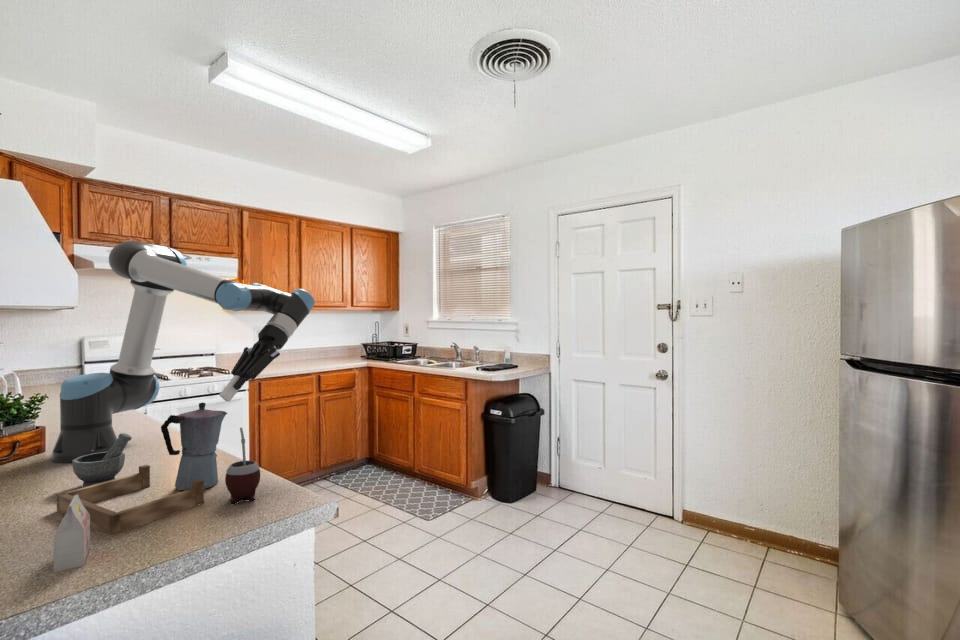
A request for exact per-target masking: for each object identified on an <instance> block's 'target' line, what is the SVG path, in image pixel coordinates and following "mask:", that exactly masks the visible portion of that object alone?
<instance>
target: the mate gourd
mask: <svg viewBox="0 0 960 640" xmlns="http://www.w3.org/2000/svg"><path fill="white" fill-rule="evenodd" d="M243 429H244V428H243V427H240V428H239V431H240V437H241V439H240V441H241V442H240V443H241V449H242V452H241V453H242V460H240V461H236V462H232V463H231V464H230V465H229V466H228V468H227V469H226V472H225V479H224V481H225V486H226V489H227V491H228V492H229V494H230V499H231V498H232V499H231V502H230V505H231V504H234V505H236V504H238V503H240V502H239V501H241V500H243V501H244V500H249V501H248V502H251V501H253V502H255V501H256V498H255V493H256V490H257V488H258V487H259V484H260V480H261V469H260V466H259V464H258V463H257V462H256V461H255V460H247V459H246V439H245V435H244V430H243ZM254 500H255V501H254ZM237 502H238V503H237ZM241 502H242V501H241ZM235 503H236V504H235Z"/></svg>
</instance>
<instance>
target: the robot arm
mask: <svg viewBox="0 0 960 640" xmlns="http://www.w3.org/2000/svg"><path fill="white" fill-rule="evenodd" d="M108 263H109V264H108V265H109V267H110V269H111V270H112V271H113V272H114V273H115V274H116V275H118V276H119V277H121V278H123V279H125V280H126V279H127V280H130V282H129V283H130V285H131V286H132V287H133V288H134V292H133V297H132V300H131V305H130V309H129V314H128V317H127V323H126V327H125V330H124V336H123V339H122V343H121V344H122V345H121V348H120V353H119V356H118V362H116V363H115V364H113V365H111V366H110V369H109V372H92V373H88V374H87V373H84V374H79V375H76V376H75V375H74V376H71V377H69V378H66V379H64V380H63V381H62V382H61V385H60V393H59V404H60V405H59V407H60V408H59V409H60V412H59V413H60V419H59V420H60V421H59V422H60V424H59V425H60V427H59V428H60V431H59V434H58V437H57V439H56V442H55V443H54V444H55V445H54V447H53V449H52V452H51V461H52V460H53V462H54V461H55V463H61V464H62V463H65V464H66V463H72V460H74V459H76V458H78V457H80V456H84V455H88V454H93V453H100V452H108V451H109V450H110V448H111V447H112V446H113V444H114V443H115V442H116V440H117V439H118V437H117V435H116V433H115V430H114V428H113V415H114V414H119V413H122V412H123V413H124V412H128V411H134V410H135V411H136V410H138V409H140V408H144V407H147V406H149V405H150V404H151V403H153V402H154V400H156V398H157V397H158V395H159V393H160V382H159V381H158V380H159V379H158V377H157V376H156V375H155V372H156V371H155V369H154V368H153V367H152V366H151V365H152V361H153V357H154V352H155V349H156V343H157V340H158V335H159V331H160V328H161V327H160V326H161V324H162V318H163V313H164V309H165V305H166V301H167V298H168V295H170V294H171V293H173V292H174V291H178V292H181V293H183V294H186V295H190V296H193V297H195V298H200V299H203V300H204V301H205V300H206V301H208V302H211V303H215V304H218V305H219V306H220V308H222V309H224V310H225V311H227V310H228V311H231V312H232V311H233V312H239V311H240V312H246V311H247V312H250V311H251V312H264V313H265V312H266V313H268V314H272V315H273V316H272V317H271V318H270V319H269V320H268V321H267V322H266V325H264V326H263V327H262V328H261V330H260V331H259V332H258V334H257V336H258V341H257V342H255V343H253V346H252V347H250V348H249V347H248V346H246V347H244V348H243V351H242V354H241V355H240V357H239V358H238V360H237V362H236V363H235V365H234V367H233V369H232V370H231V371H230V374H231V375H232V376H233V377H232V378H231V380H230V381H229V382H228V383H227V385H226V386H225V387H224V388H223V390H221V392H220V393H219V397H221V398H222V399H223V400H224V401H225V402H229V403H230V402H231V401H232V399H233V398H234V397H235V396H236V394H237V393H238V392H239V390H240V389H241V388H242V387H243V386H244V384H245V383H246V382H248V381H250V380H252V381H254V380H255V379H256V378H257V377H258V376H259V375H261V373H262V372H263V371H264V370H265V369H266V368H267V367H268V366H269V365H270V364H271V362H273V361H274V360H275V359H277V358H278V357H279V356H280V355H281V353H280V352H279V351H278V350H281V349H283V348H284V346H285V345H286V343H287V342H288V341H289V339H290V338H291V337H292V336H293V335H294V333H295V332H296V330H297V329H298V327H299V326H300V325H301V324H302V322H303V321H304V319H306V318H307V316H308V315H310V312H311V311H312V309H313V308H314V306H315V303H316V301H315V298H314V296H313V295H312V294H311V293H310V292H309V291H307V290H305V289H303V288H296V289H294V290H293V291H292V292H291V293H289V292H285V291H282V290H279V289H277V288H273V287H270V286H268V285H266V284H261V283H258V282H253V283H251V284H247V283H246V284H245V283H241V282H238V281H235V280H231V279H228V278H225V277H222V276H219V275H216V274H213V273H209V272H206V271H203V270H201V269H197V268H194V267H191V266H189V265H188V264H187V261H186V259H185V258H184V256H183V254H182V253H181V252H180V251H179V250H177V249H175V248H173V247H172V248H171V247H169V246H165V245H159V244H154V243H147V242H141V241H137V240H127V241H123V242H121V243H118V244H116V245H115V246H113V248H112V249H111V250H110V252H109V254H108Z"/></svg>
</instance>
